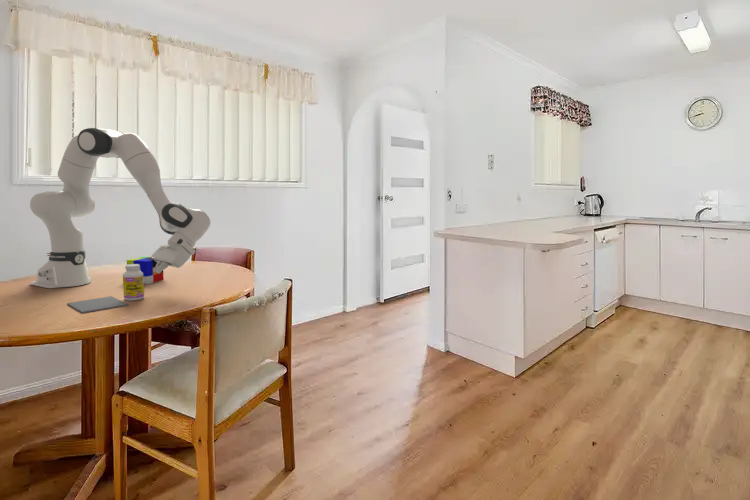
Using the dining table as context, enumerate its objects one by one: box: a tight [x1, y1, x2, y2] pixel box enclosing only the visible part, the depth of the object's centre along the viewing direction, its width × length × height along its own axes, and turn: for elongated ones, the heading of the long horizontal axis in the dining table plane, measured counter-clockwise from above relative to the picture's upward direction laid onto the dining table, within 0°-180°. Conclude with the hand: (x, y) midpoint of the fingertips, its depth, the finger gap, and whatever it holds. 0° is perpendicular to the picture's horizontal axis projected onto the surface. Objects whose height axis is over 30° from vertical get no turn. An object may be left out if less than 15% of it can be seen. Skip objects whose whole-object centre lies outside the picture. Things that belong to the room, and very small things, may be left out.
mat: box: [67, 295, 129, 314], centre depth 153 cm, size 14×16×1 cm
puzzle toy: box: [126, 256, 165, 285], centre depth 192 cm, size 10×10×10 cm
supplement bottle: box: [122, 264, 145, 302], centre depth 161 cm, size 7×7×13 cm
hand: (155, 272), depth 167 cm, fingers closed
